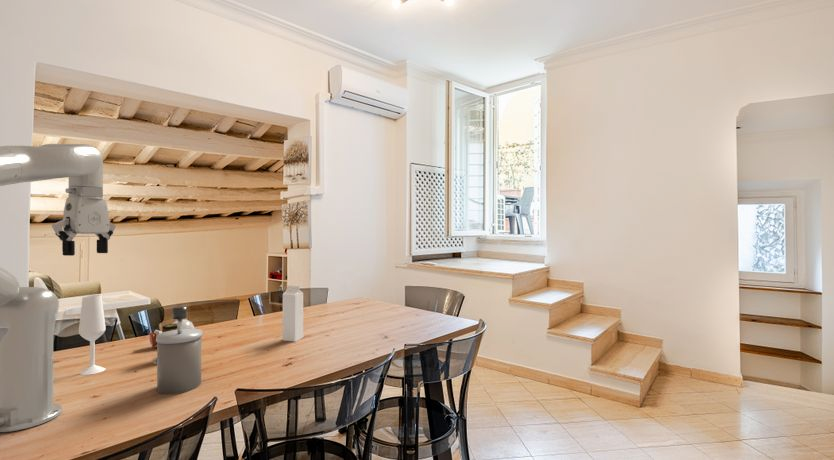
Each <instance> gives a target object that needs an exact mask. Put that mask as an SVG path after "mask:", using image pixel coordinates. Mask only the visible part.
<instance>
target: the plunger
mask: <svg viewBox="0 0 834 460" xmlns="http://www.w3.org/2000/svg"><path fill="white" fill-rule="evenodd" d="M186 318H188V306H187V305H179V306H174V307H172V320H176V321H177V334H181V333H182V319H186Z"/></svg>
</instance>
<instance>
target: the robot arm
mask: <svg viewBox="0 0 834 460" xmlns="http://www.w3.org/2000/svg"><path fill="white" fill-rule="evenodd" d="M63 178H64V179H65V178H68V187H67V188H65V193H66V194H68V197H67V198H66V200H65V204H64V207H63V216H62V217H63V218H62V219H61V220H59V221H57V222H55V223H52V224H51V227H52V229H53V231H54V235H56V237H58V238H59V241H60V242H61V243H62V244H61V245H62V246H61V248H62V249H61V250H62V255H63V256H70V257H71V256H75V254H76V253H75V252H76V251H75V250H76V249H75V247H76V246H75V245H76V244H75V240H73V239H74V238H75V237H76V236H77V235H78V234H79V235H80V234H81V235H82V234H83V235H84V234H85V235H89V234H90V235H93V234H94V235H95V236H96V237H97V239H96V253H97V254H108V253H109V251H108V250H109V249H108V248H109V247H108V246H109V244H108V243H109V240H110V239H111V236H112V235H113V234H114V232H115V231H114V230H115V229H116V224H114V223H112V222H111V221H110V216H109V215H110V214H109V209H108V204H107V200H106V199H104V157H103V155H102V154H101V152H100V151H99V150H98V149H97V147H95V146H93V145H90V144H85V143H83V144H82V143H80V144H79V143H44V144H42V145H38V146H37V145H35V146H33V145H0V187H4V186H9V185H15V184H20V183H21V184H22V183H32V182H42V181H47V180H53V179H55V180H56V179H63ZM59 309H60V301H59V299H58V296H57V294H56V293H54V291H51V290H50V289H47V288H43V287H37V286H20V282H19V280H18V279H17V278H16V276H14V275H13V274H12V273H11V272H10V271H8V270H6V269H5V268H3V267H2V266H0V329H8V330H7V332H6V333H5V335H4V336H3V338H2V339H1V340H0V433H9V432H15V431H21V430H24V429H25V430H26V429H29V428H34V427H36V426H39V425H43V424H44V423H47V422H50V421H52V420H53V419H55V418H57V417H58V416H59V415H61V413H62V411H63V410H62V409H63V408H62V407H63V406H62V405H60V404H59V403H54V335H55V334H54V332H55V326H56V325H55V324H56V319H57V316H58V312H59Z"/></svg>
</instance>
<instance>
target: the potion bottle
mask: <svg viewBox="0 0 834 460" xmlns="http://www.w3.org/2000/svg"><path fill="white" fill-rule="evenodd" d="M171 324H177V320H175V321H173V322H171ZM182 329H196V328H195V326H194V324H193V322H192V321H190V320H188V319H186V318H183V319H182ZM160 333H162V330H158V329H155V330H154V332H149V342H150V344H151V347H152V349H154V348H155V347H157V342H156V336H157V335H158V334H160Z"/></svg>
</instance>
